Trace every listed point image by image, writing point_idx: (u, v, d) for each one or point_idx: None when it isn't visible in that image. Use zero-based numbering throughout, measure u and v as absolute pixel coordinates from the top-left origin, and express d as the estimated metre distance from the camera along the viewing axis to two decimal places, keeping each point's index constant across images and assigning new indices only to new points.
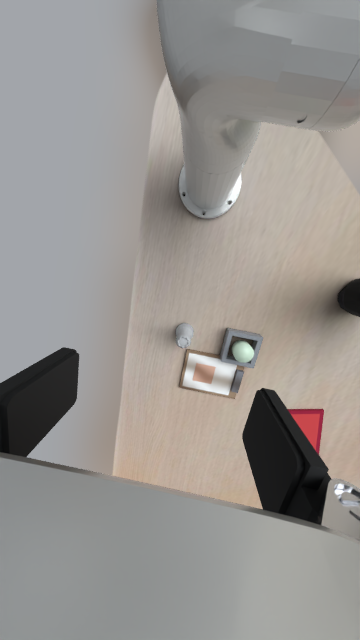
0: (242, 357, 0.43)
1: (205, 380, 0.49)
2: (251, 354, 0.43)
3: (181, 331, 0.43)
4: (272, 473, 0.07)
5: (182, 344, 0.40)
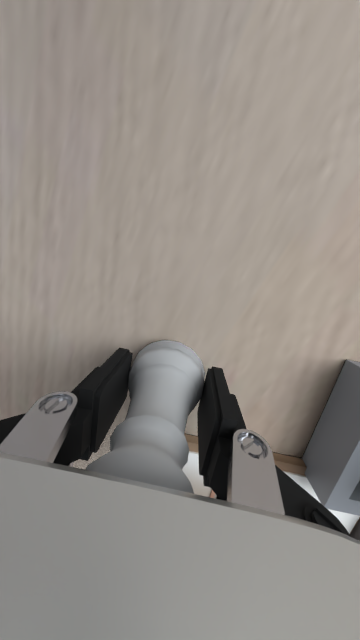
0: None
1: None
2: None
3: (143, 391, 0.08)
4: (205, 433, 0.08)
5: None
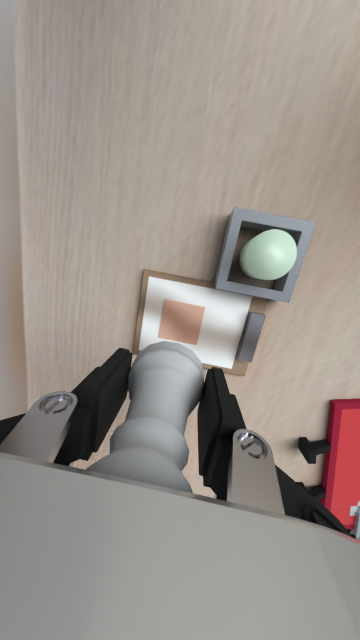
0: (266, 266, 0.18)
1: (185, 337, 0.24)
2: (290, 256, 0.17)
3: (142, 393, 0.08)
4: (205, 433, 0.08)
5: None
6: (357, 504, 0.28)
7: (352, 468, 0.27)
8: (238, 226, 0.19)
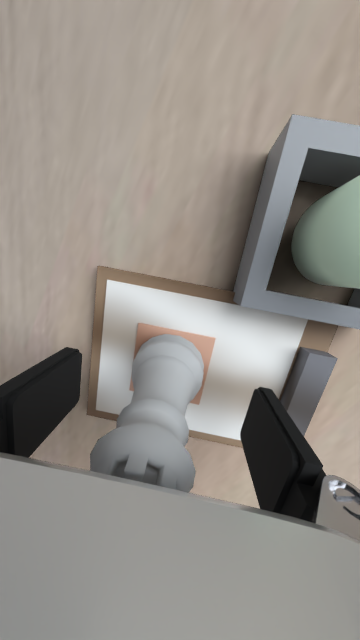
0: None
1: None
2: None
3: (146, 380, 0.09)
4: (268, 470, 0.07)
5: None
6: None
7: None
8: (299, 163, 0.08)
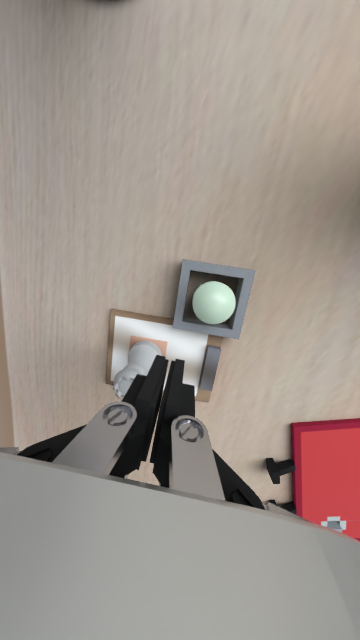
0: (210, 312, 0.20)
1: None
2: (230, 304, 0.19)
3: (132, 359, 0.22)
4: None
5: None
6: (327, 519, 0.30)
7: (317, 485, 0.29)
8: (187, 275, 0.21)
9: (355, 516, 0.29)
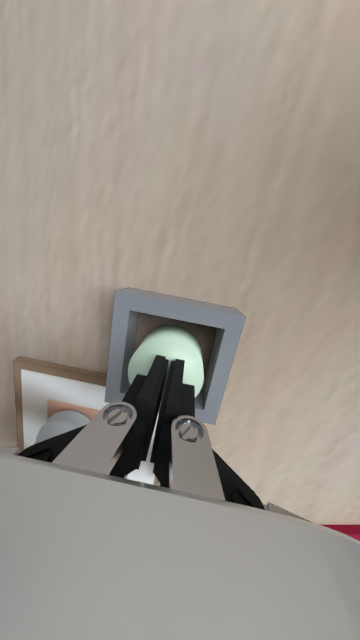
0: None
1: None
2: (194, 378, 0.11)
3: None
4: None
5: None
6: None
7: None
8: (125, 318, 0.12)
9: None
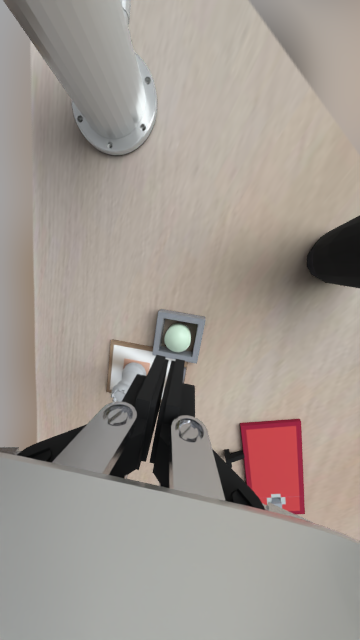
0: (175, 345, 0.32)
1: None
2: (187, 340, 0.31)
3: (124, 376, 0.33)
4: None
5: (119, 399, 0.29)
6: (271, 496, 0.40)
7: (261, 469, 0.39)
8: (161, 321, 0.32)
9: (291, 493, 0.39)
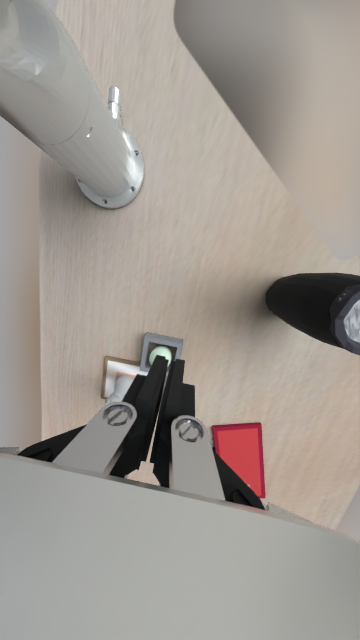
0: None
1: None
2: None
3: (116, 388, 0.40)
4: None
5: None
6: None
7: (230, 463, 0.47)
8: (147, 344, 0.39)
9: (254, 482, 0.48)
